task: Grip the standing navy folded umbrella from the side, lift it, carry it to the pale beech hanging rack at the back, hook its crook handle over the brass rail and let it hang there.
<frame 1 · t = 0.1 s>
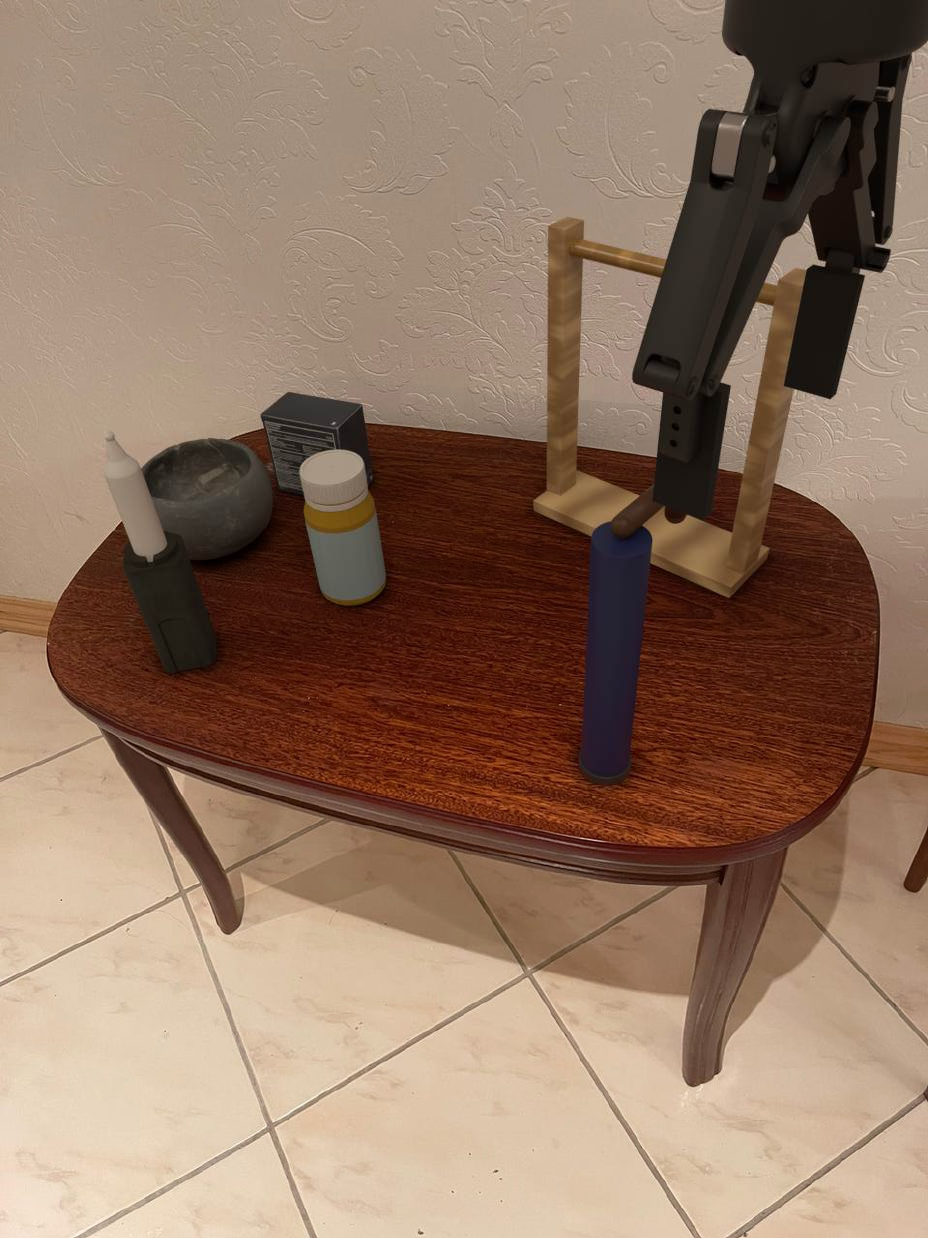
hand: (750, 444, 45), 35 cm above the table, tool pointing down, fingers open, 13 cm apart
umbrella: (604, 764, 75), on the table
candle: (191, 654, 88), on the table
bowl: (217, 544, 101), on the table
bottle: (354, 588, 94), on the table
small box: (327, 486, 109), on the table
rack: (645, 533, 98), on the table
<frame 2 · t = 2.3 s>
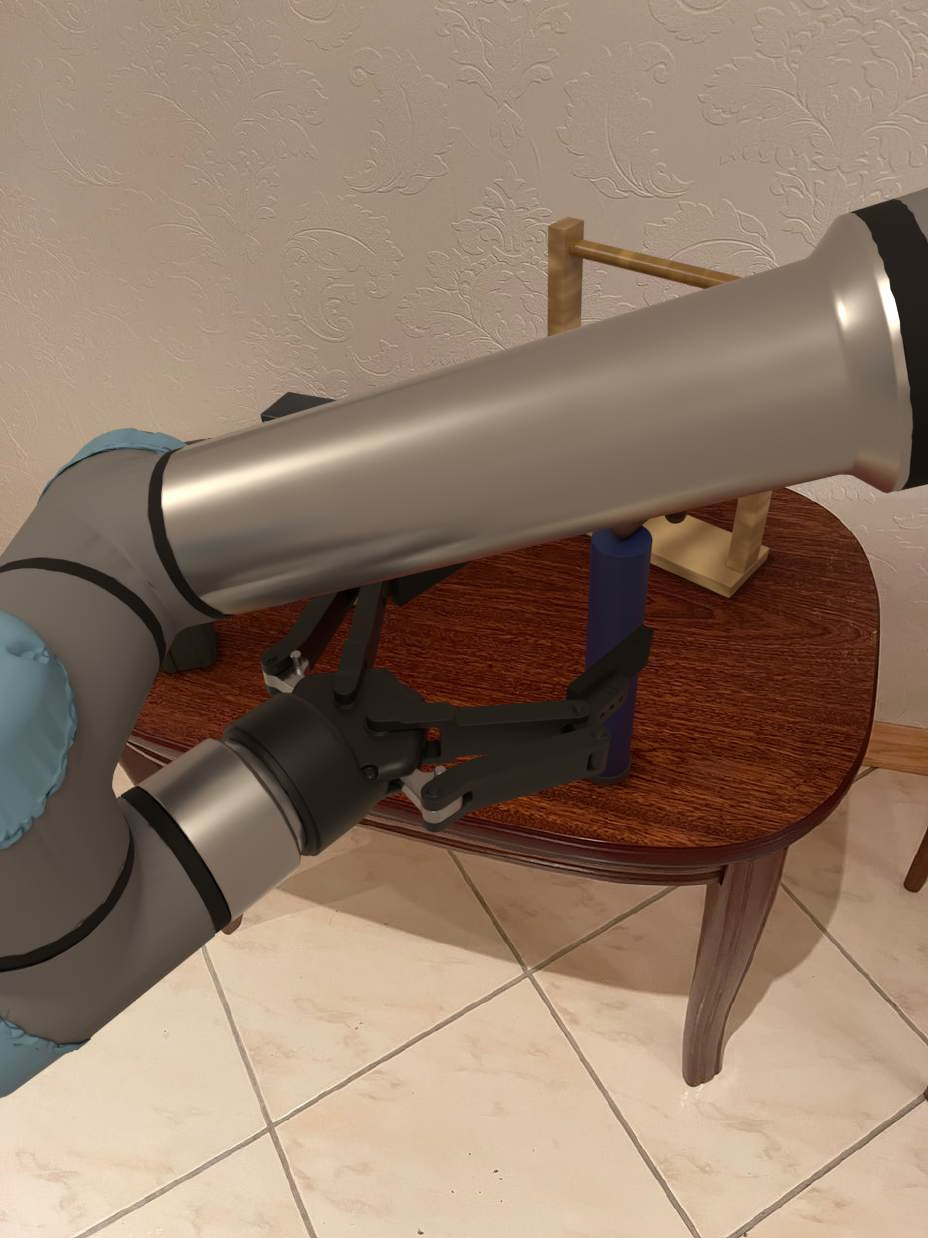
hand: (552, 588, 53), 25 cm above the table, tool horizontal, fingers open, 13 cm apart
nothing on the table moved.
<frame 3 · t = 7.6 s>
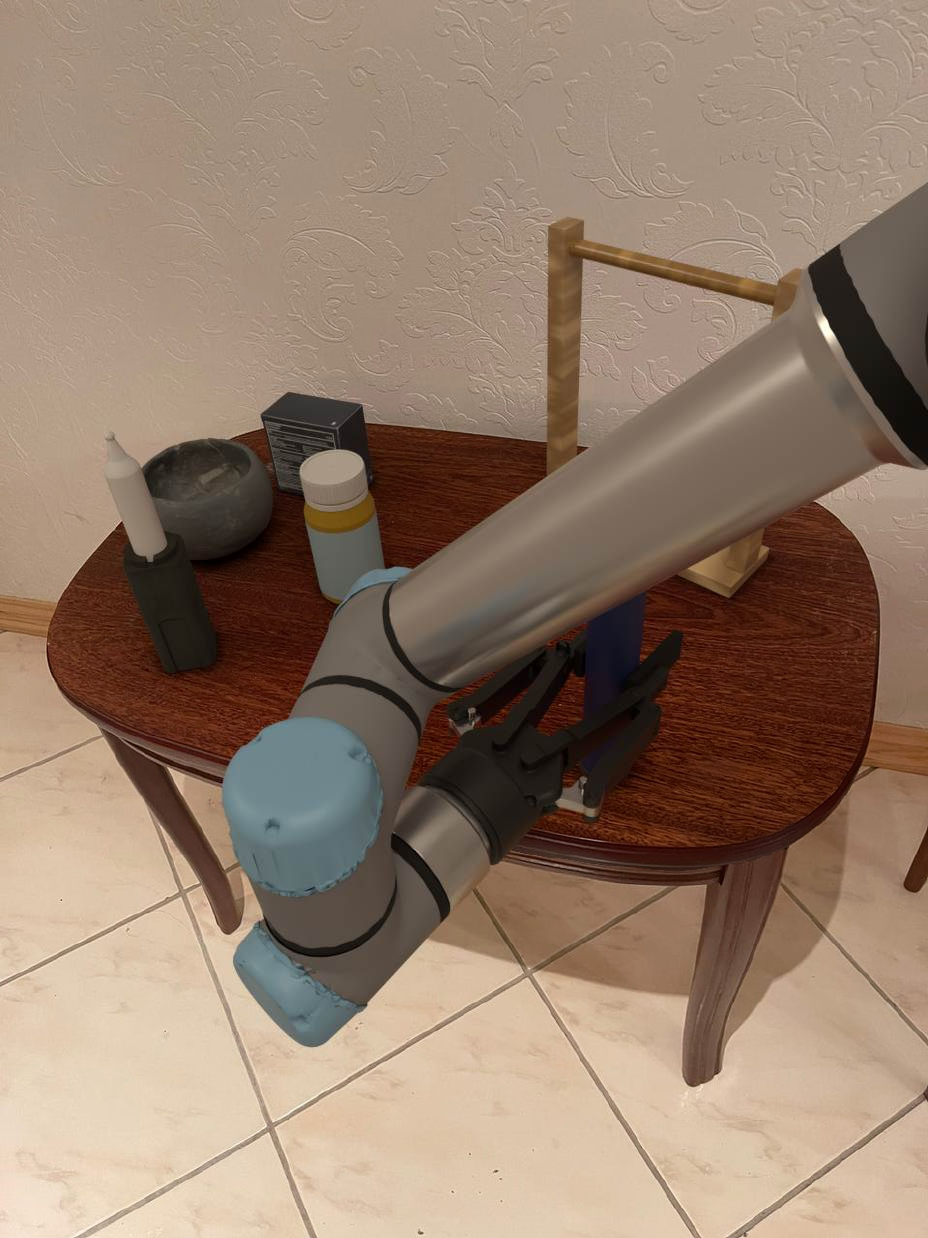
hand: (650, 631, 70), 12 cm above the table, tool horizontal, fingers closed on umbrella, 4 cm apart
umbrella: (604, 764, 75), on the table, touching gripper
everything else where it was.
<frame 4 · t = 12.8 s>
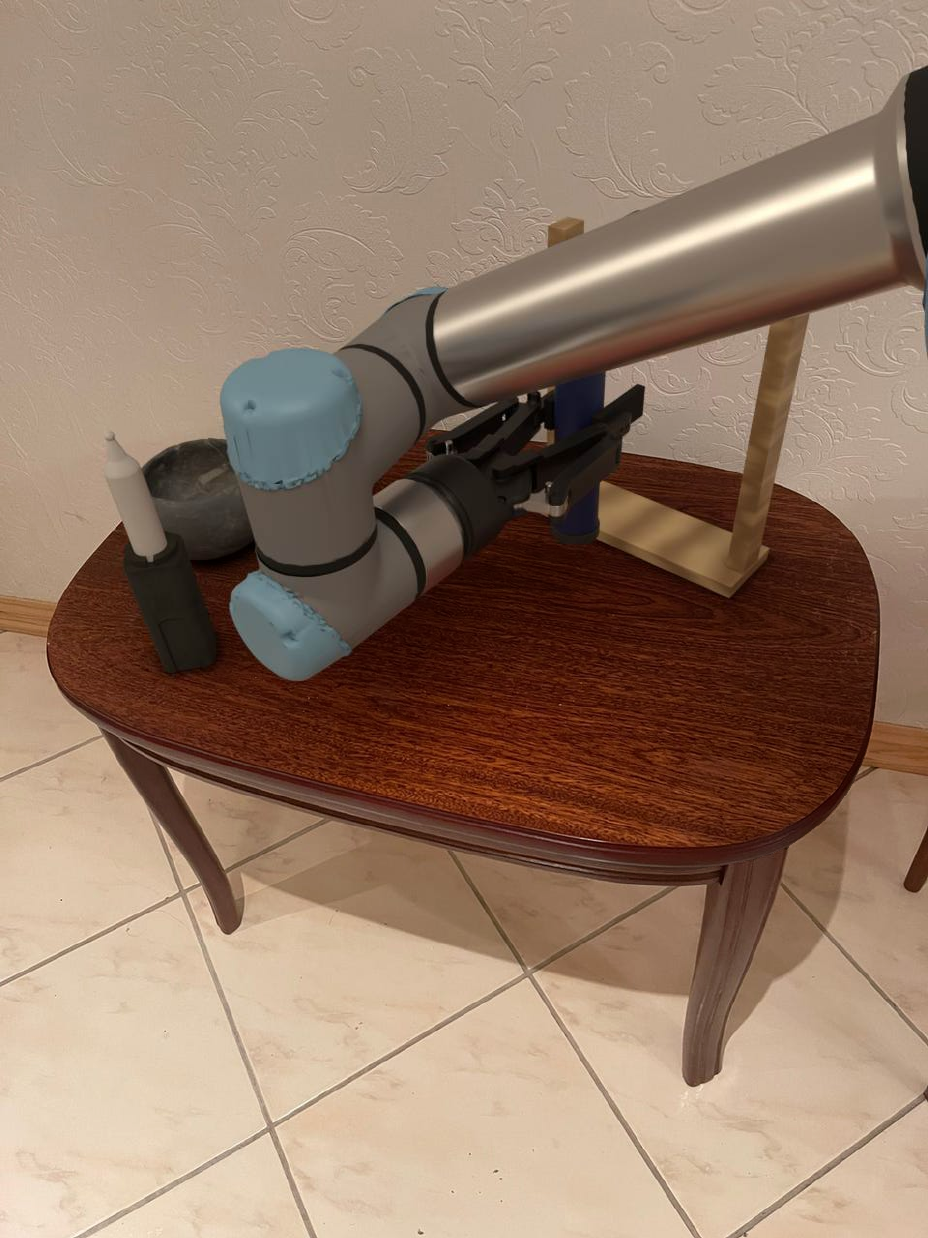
hand: (616, 391, 75), 23 cm above the table, tool horizontal, fingers closed on umbrella, 4 cm apart
umbrella: (575, 531, 80), point 11 cm above the table, touching gripper
everything else where it was.
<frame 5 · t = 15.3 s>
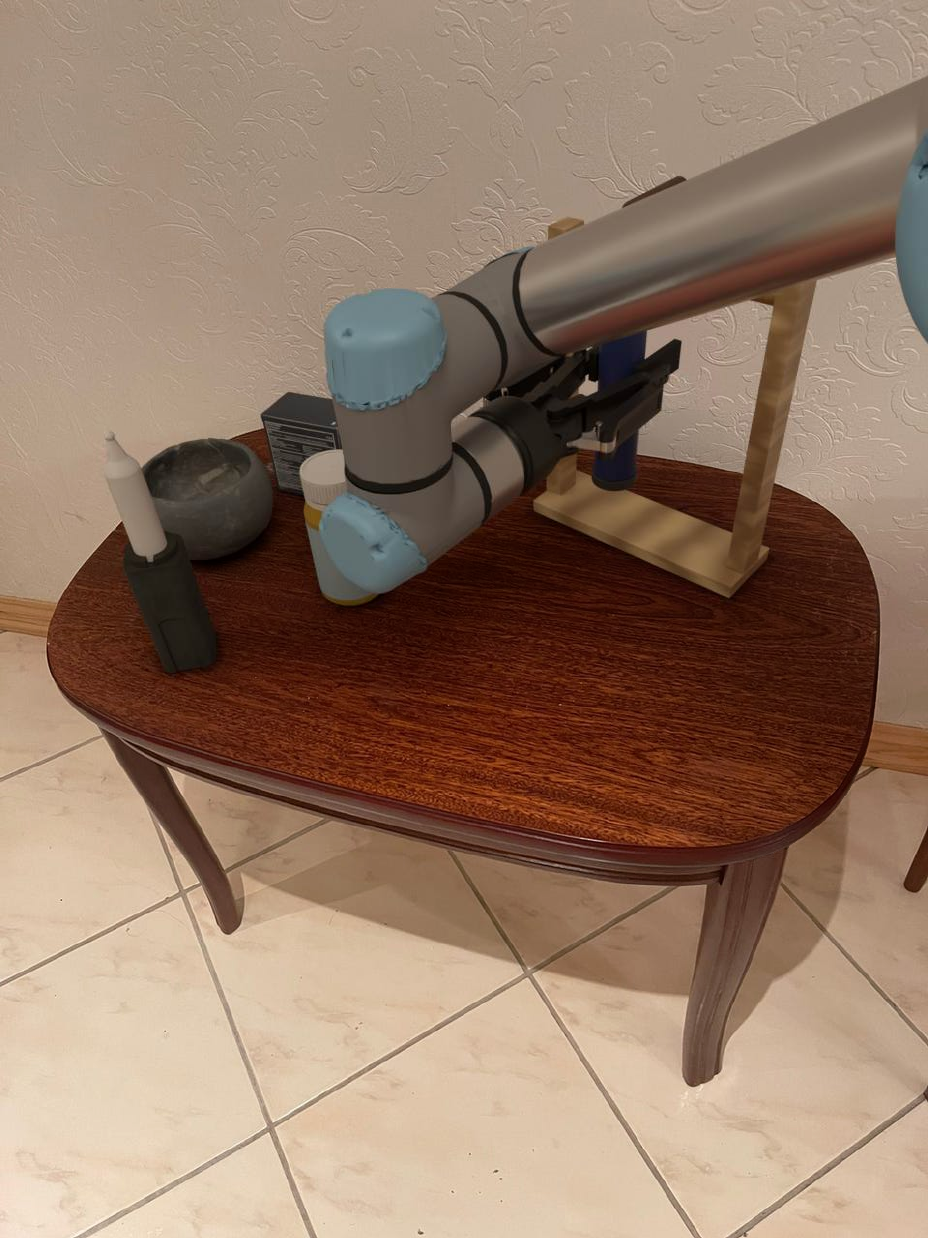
hand: (653, 347, 82), 22 cm above the table, tool horizontal, fingers closed on umbrella, 4 cm apart
umbrella: (614, 478, 87), point 11 cm above the table, touching gripper
everything else where it was.
when the fingers open (17 cm above the table, at t = 17.9 s): umbrella moves 3 cm, resting on rack.
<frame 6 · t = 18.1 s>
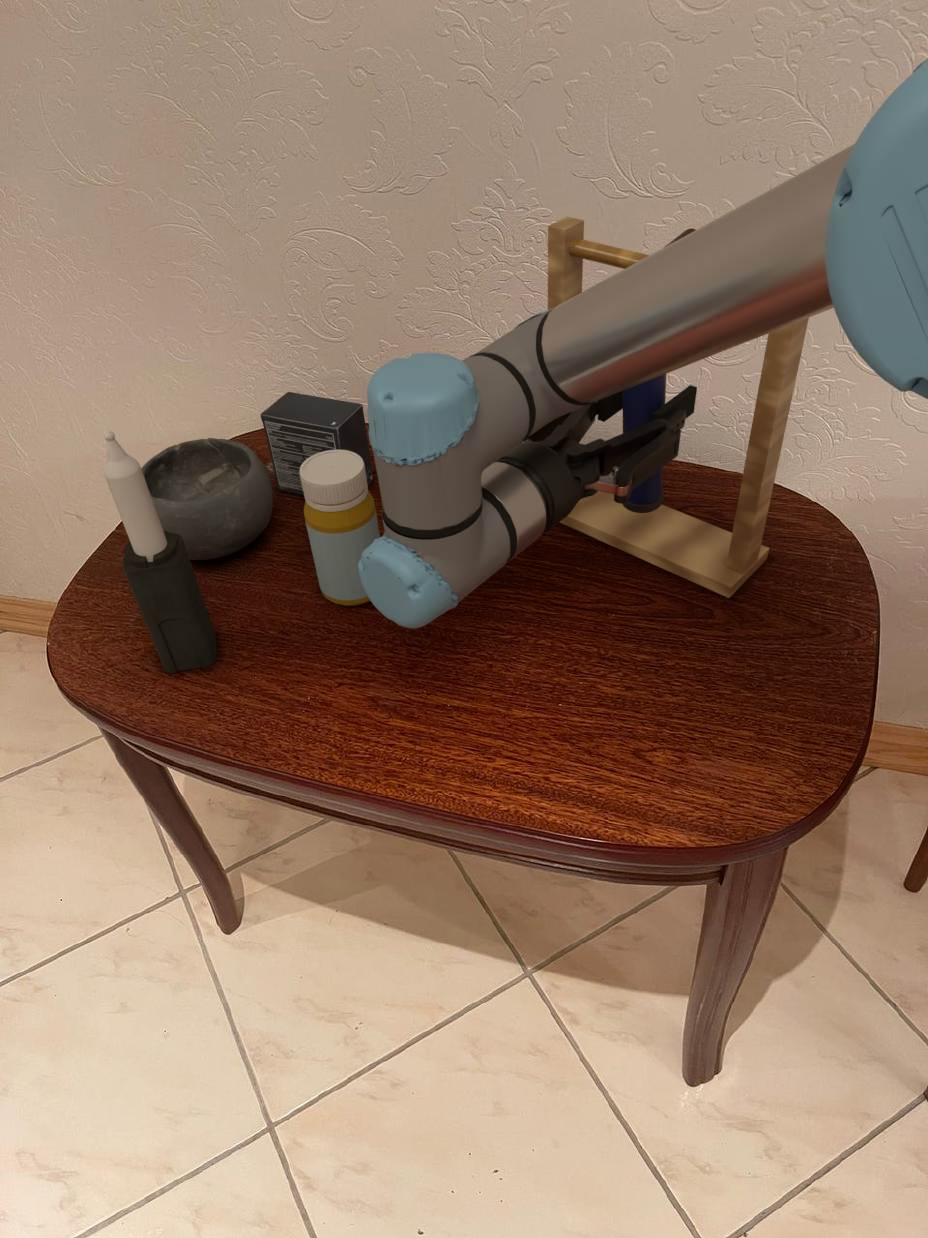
hand: (665, 390, 87), 17 cm above the table, tool horizontal, fingers open, 5 cm apart
umbrella: (642, 499, 93), point 5 cm above the table, tilted 7°, touching rack
everything else where it was.
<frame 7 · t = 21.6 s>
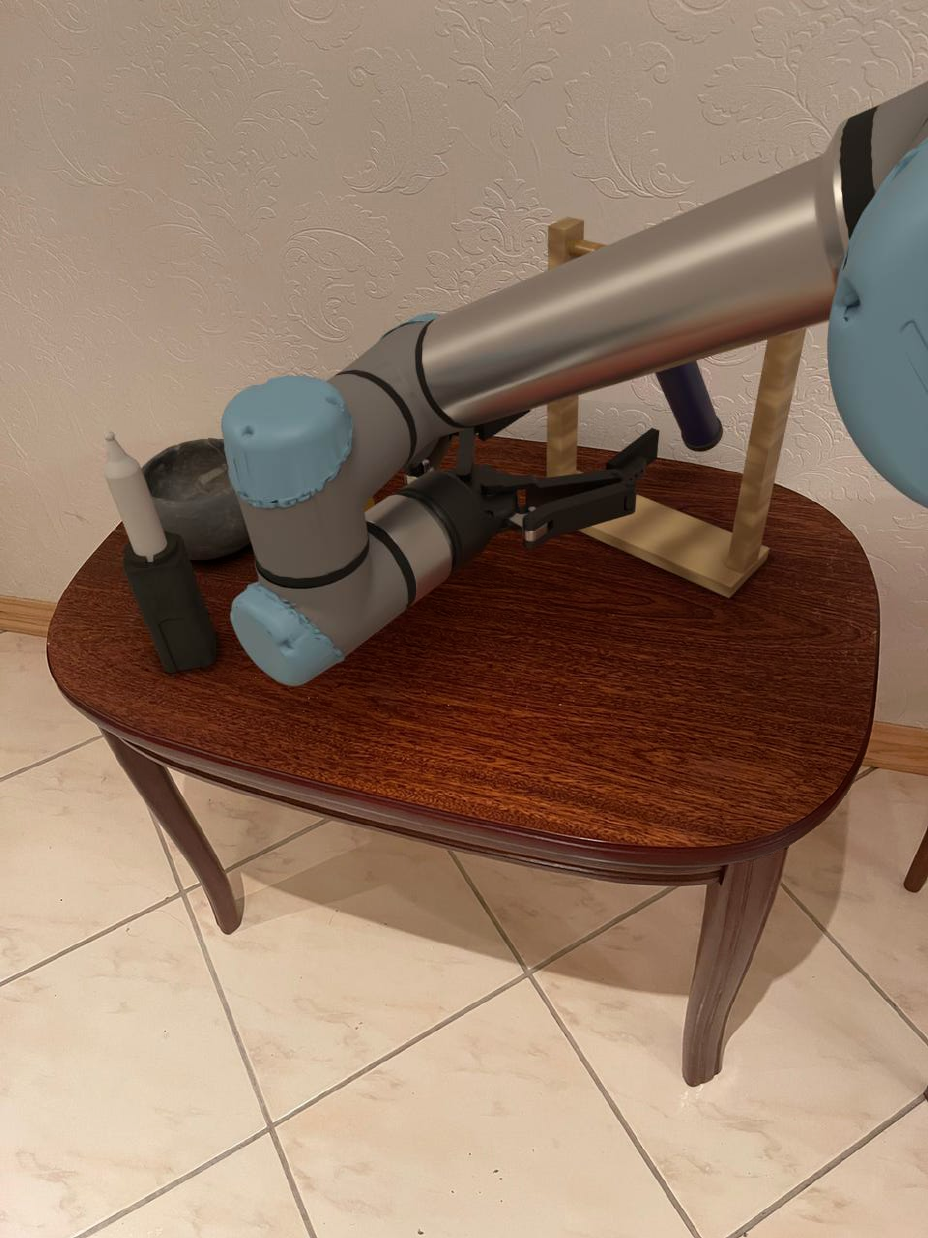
hand: (588, 418, 78), 20 cm above the table, tool horizontal, fingers open, 13 cm apart
umbrella: (702, 434, 98), point 8 cm above the table, tilted 34°, touching rack
everything else where it was.
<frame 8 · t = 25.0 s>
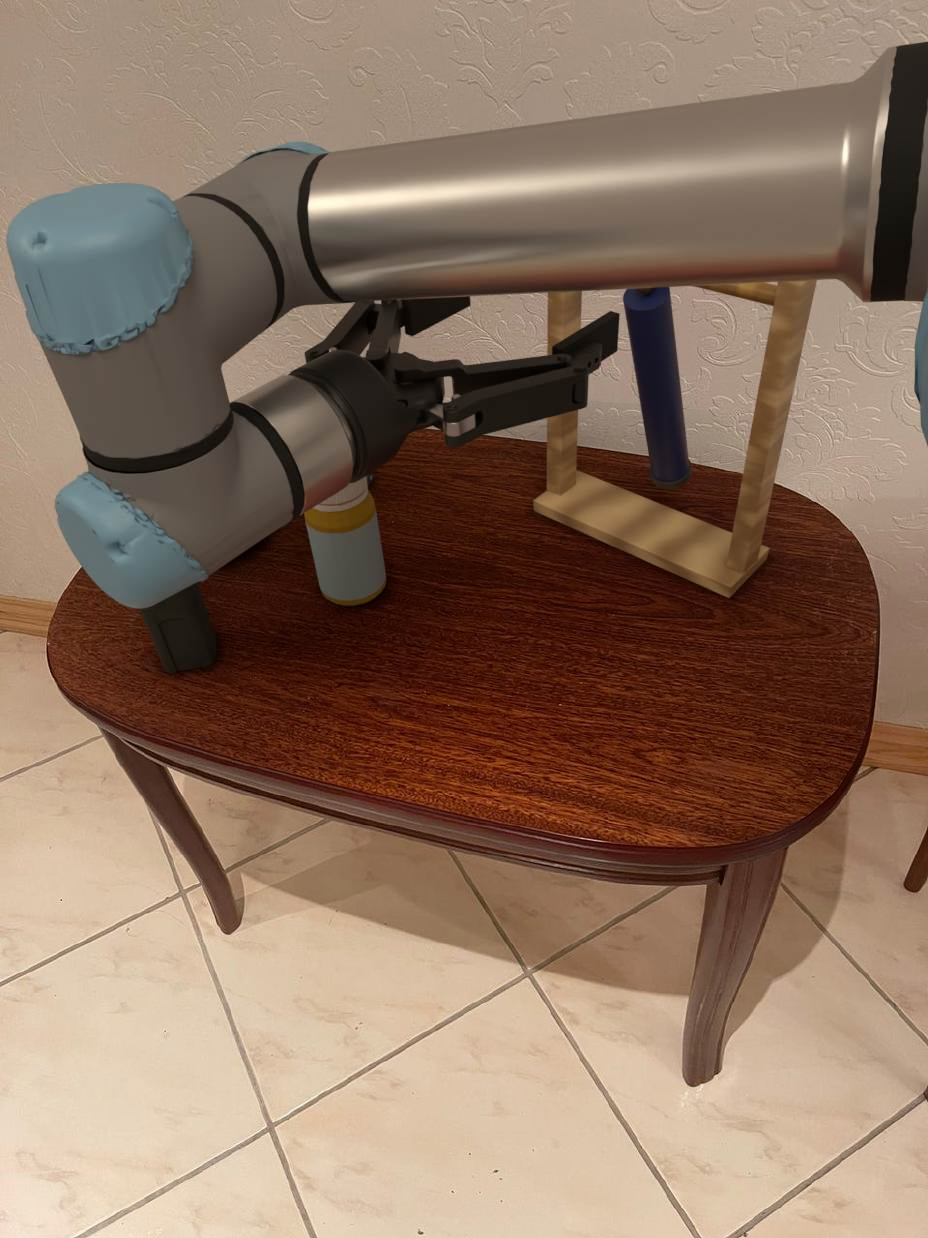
hand: (536, 307, 64), 33 cm above the table, tool horizontal, fingers open, 13 cm apart
umbrella: (671, 473, 96), point 6 cm above the table, tilted 20°, touching rack
everything else where it was.
at the end: umbrella touching rack; umbrella inside the target area on the rack (1.7 cm from its centre), point 5.3 cm above the rack's base; the gripper is holding nothing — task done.
